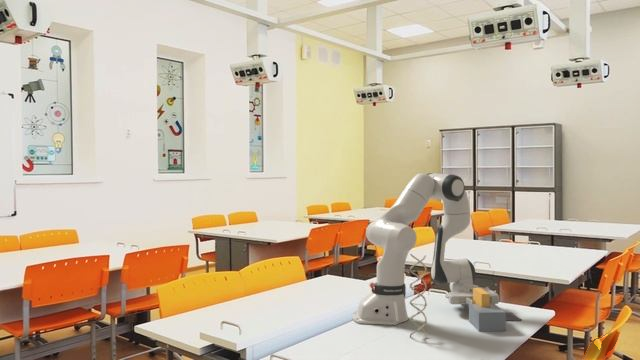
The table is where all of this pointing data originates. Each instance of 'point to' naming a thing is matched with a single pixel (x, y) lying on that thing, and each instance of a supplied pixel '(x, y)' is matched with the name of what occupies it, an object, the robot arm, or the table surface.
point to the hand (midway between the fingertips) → (479, 303)
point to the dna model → (419, 295)
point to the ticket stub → (481, 297)
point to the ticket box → (487, 317)
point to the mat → (512, 317)
